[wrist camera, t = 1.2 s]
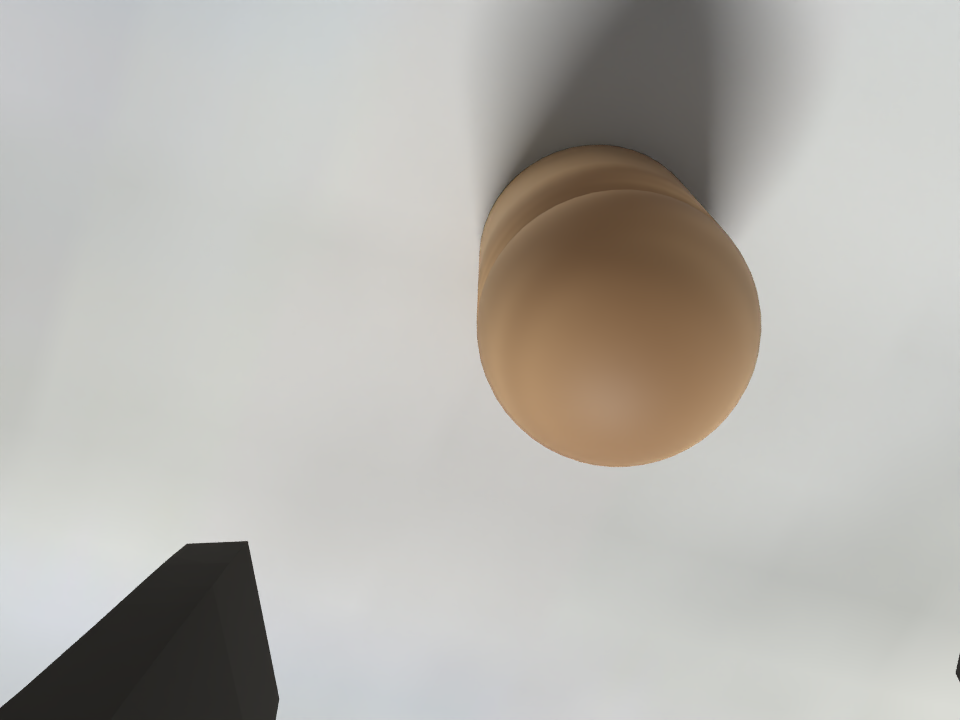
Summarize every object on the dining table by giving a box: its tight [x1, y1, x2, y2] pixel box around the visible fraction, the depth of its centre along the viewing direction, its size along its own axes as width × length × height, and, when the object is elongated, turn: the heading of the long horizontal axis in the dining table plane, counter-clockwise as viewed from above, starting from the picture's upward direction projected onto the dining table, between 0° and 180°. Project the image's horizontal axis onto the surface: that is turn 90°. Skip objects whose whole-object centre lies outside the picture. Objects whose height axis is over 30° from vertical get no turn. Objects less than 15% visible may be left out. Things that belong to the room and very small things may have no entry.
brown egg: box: [477, 145, 761, 467], centre depth 14 cm, size 4×4×6 cm
